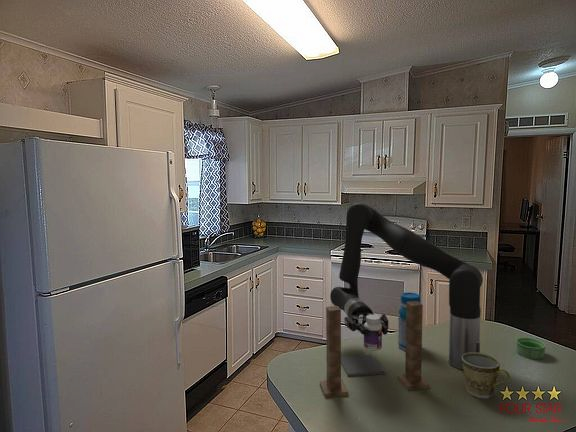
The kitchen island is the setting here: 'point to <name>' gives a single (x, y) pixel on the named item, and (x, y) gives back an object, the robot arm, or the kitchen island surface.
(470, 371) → the ceramic cup
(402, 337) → the beverage bottle
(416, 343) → the walnut post
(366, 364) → the charcoal mat
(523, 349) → the ramekin
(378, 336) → the pill bottle
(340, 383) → the walnut post
